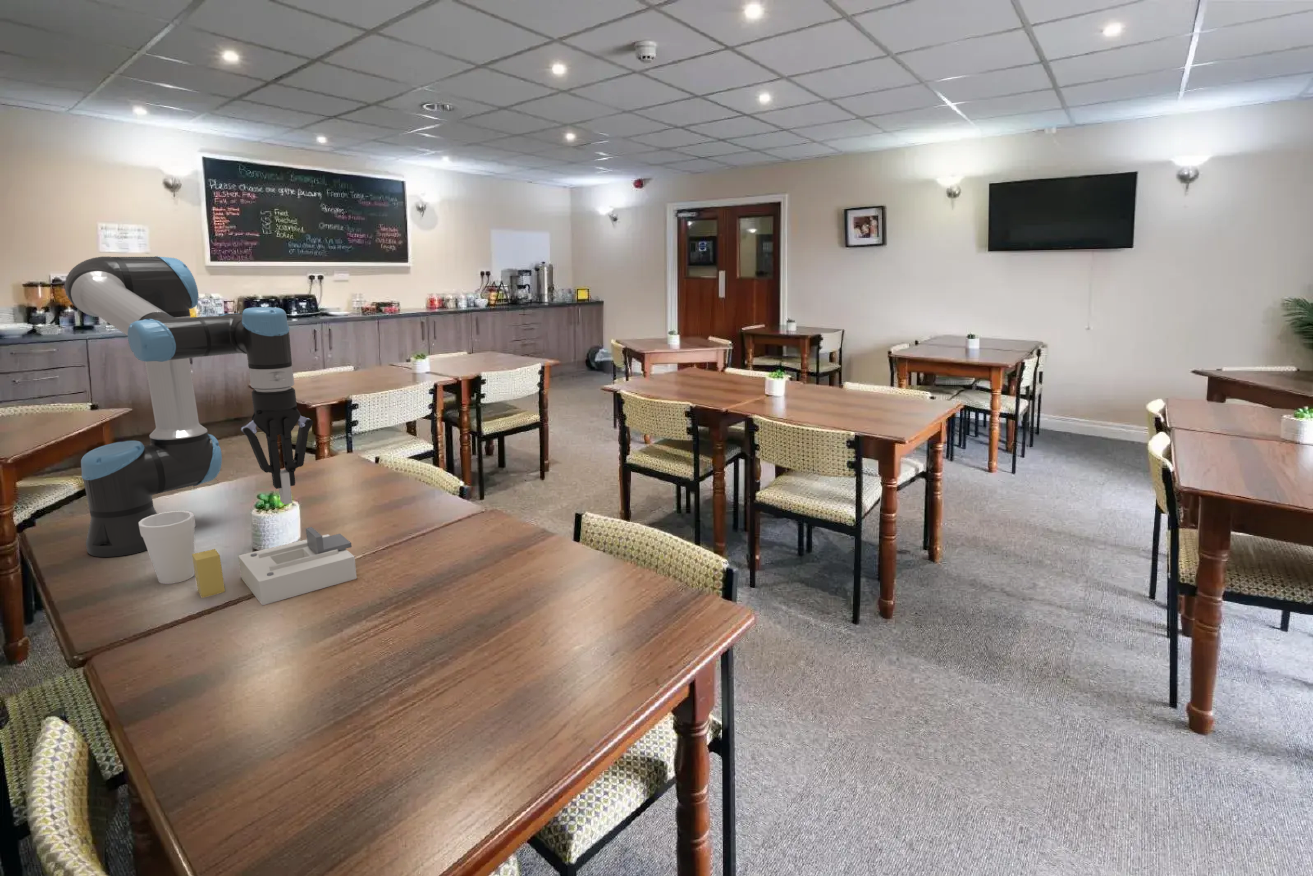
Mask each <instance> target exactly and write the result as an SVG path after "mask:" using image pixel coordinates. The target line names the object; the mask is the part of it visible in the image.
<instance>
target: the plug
mask: <svg viewBox="0 0 1313 876" xmlns="http://www.w3.org/2000/svg"><path fill="white" fill-rule="evenodd" d="M192 558H193V564H194V576H195V583H196V588H197V589H196V590H197V592H198V594H199V596H200V597H201V598H202V599H204V598H207V597H211V596H216V595H219V594H222V593H225V592H226V590H225V589H226V588H225V583H224V582H225V581H224V576H223V575H224V574H223V568H222V562H221V561H222V560H221V556H220V554H219V552H218V551H217V550H216V549H215V548H213V549H209V550H205V551H200V552H194V554H192Z"/></svg>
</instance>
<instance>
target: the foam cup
mask: <svg viewBox="0 0 1313 876" xmlns="http://www.w3.org/2000/svg"><path fill="white" fill-rule="evenodd" d="M138 523H139V529H140V534H141V537H143V539H144V542H145V544H146V547H147V550H146V551H147V553H148V555H149V559H150V561H151V564H152V567H153V570H154V572H155V574H156V579H157V581H158V583H160V584H162V585H171V584H177V583H181V582H184V581H187V580H189V579H191V578H192V577H194V576H195V571H194V564H193V558H192V554H195V527H197V526H196V520H195V515H194V512H192V511H187V510H173V511H172V510H171V511H163V512H160V513H157V514H155V515H151V516H149V517H146V518H144V519H142V520H141V521H140V522H138Z"/></svg>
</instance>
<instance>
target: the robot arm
mask: <svg viewBox="0 0 1313 876" xmlns="http://www.w3.org/2000/svg"><path fill="white" fill-rule="evenodd" d="M64 281H65V282H64V292H65V295H66V297H67V299H68V300H69V301H70V303H71V304H72V305H73V306H74V307H75V308H76V309H78V310H79V311H80V312H81V313H82V312H83V313H84V314H86V315H88V316H92V317H94V318H95V317H97V318H100V319H102V320H104V321H105V322H106V323H108V324H110V325H111V326H112V327H114V328H115V329H117V330H118V331H120V332H121V333H123V334H125V335H126V336H127V341H128V344H129V348H130V350H131V351H132V353H133V355H134V357H135V358H136V359H138V360H139V361H141V362H144V364H145V369H146V376H147V382H148V388H149V393H150V401H151V406H152V413H153V417H154V423H155V424H154V425H155V428H154V430H153V431H152V432H150V434H149V442H150V444H147V445H144V444H143V442H142V441H139V440H125V441H117V442H113V443H108V444H105V445H101V446H98V447H95V448H94V449H92V450H89V451H88V452H86V453H85V454H84V455H83V456H82V458H81V459H80V468H81V479H82V480H83V484H84V489H85V490H84V491H85V494H86V501H87V505H88V509H89V514H90V521H89V527H88V531H87V536H86V540H85V545H86V546H85V547H86V551H87V553H88V554H89V555H91V556H93V557H99V558H113V557H122V556H127V555H133V554H137V553H142V552H145V551H148V550H147V547H146V544H145V542H144V539H143V537H141V534H140V529H139V523H138V522H140V521H141V520H142V519H144V518H146V517H149V516H151V515H155V514H158V512H157V511H156V509H155V506H154V500H153V496H154V495H157V494H162V493H167V492H171V491H176V490H180V489H184V488H189V487H197V486H200V485H202V484H204V483H208V482H211V481H213V480H214V479H216V478H217V476H218V475H219V474H220V471H221V469H222V463H223V460H222V459H223V455H222V454H223V453H222V448H221V446H220V445H219V444H220V443H219V440H218V439H217V438H216V437H215V436H214V435H213V434H209V433H208V429H207V428H206V427H205V426H203V425H202V424H201V423H200V422H199V421H200V420H199V414H198V408H197V401H196V394H195V388H194V382H193V375H192V368H191V363H190V359H194V358H202V357H215V356H224V355H225V356H226V355H236V354H244V355H246V358H247V365H248V366H247V367H248V372H249V373H248V374H249V381H250V383H249V384H250V388H252V389H253V390H252V391H251V398H252V406H253V414H252V417H251V421H249V423H247V424H246V425H241V426H240V428H239V429H240V431H241V432H242V433H243V434H244V435H245V436H246V437H247V440H248V442H249V444H250V447H251V450H252V452H253V454H254V456H255V458H256V461H257V463H258V466H259V468H260V469H261V470H262V472H264V473H267V474H268V473H269V474H270V473H271V478H272V486H273V487H274V488H275V490H277V489H278V492H279V501H280V502H281V503H282V504H283V505H289V504H293V498H292V487H295V486H296V476H295V475H296V474H295V471H296V469H298V468H301V467H303V466H304V463H305V456H306V451H307V443H308V438H309V437H308V436H309V431H310V429H311V428H312V427H313V424H314V420H312V419H310V418H309V417H305V416H302V415H301V412H300V411H299V410H298V409H299V408H298V407H297V396H296V395H297V394H296V389H295V388H294V387H293V386H294V385H295V380H294V379H295V378H294V371H293V362H292V361H293V360H292V348H291V347H292V346H291V339H290V338H291V337H290V326H289V323H288V317H287V313H286V311H285V310H284V309H283V308H280V307H269V306H267V307H265V306H259V307H258V306H257V307H248V308H245V309H243V311H242V313H237V312H234V313H223V314H220V315H215V316H214V315H213V316H212V315H210V316H195V317H194V316H192V317H191V311H190V310H191V309H194V308H195V307H197V305H198V304H199V300H198V299H199V297H200V295H199V289H198V286H197V282H196V279H195V277H194V275H193V273H192V271H191V270H190V269H189V267H188V265H186V264H185V262H183V261H182V260H180V259H178V258H175V257H168V256H167V257H165V256H158V255H156V256H98V257H92V258H89V259H86V260H83V261H81V262H80V263H78V264H76V265H75V266H73V268H71V270H70V271H69V272H68V274H67V275H66V277H65V280H64ZM296 425H298V430H297V436H296V443H295V448H294V453H293V442H292V437H293V435H292V431H293V430H294V428H295V426H296ZM256 428H258V429H259V430H261V432H263V433H264V434H265V438H266V441H267V450H268V460H269V461H268V460H267V458H266V455H265V453H264V450H263V448H262V445H261V443H260V441H259V439H258V437H257V435H256V434H257V432H258V429H256ZM278 435H280V439H281V440H280V441H281V449H282V458H283V459H282V460H283V467H284V468H285V469H281V463H280V455H279V454H280V453H279V443H278V439H279V438H278Z"/></svg>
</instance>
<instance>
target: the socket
mask: <svg viewBox="0 0 1313 876" xmlns="http://www.w3.org/2000/svg"><path fill="white" fill-rule="evenodd" d="M328 536H331V535H330V534H328V533H327V534H323V535H322V538H323V537H328ZM237 559H238V566H239V573H240V578H241V579H242V580H243V583H244V584H245V585H246V586H247V587H248V589H249V590H250V592H251V593H252V594H253V596H255V598H256V599H257V600H258V602H259V603H260V605H261V606H265V605H269V604H273V603H276V602H279V601H282V600H287V599H289V598H293V597H297V596H300V595H304V594H307V593H311V592H314V591H317V590H321V589H325V588H328V587H332V586H336V585H339V584H342V583H347V582H350V581H353V580H357V569H356V568H357V567H356V557H355V556H354V555H353V554H352V553H351V552H350V551H349V550H348V549H347V548H346V549H342V550H339V551H338V550H337V549H336V550H332V551H328V552H324V553H320V554H316V553H315V552H314V551H313V550H312V549H311V548H310V547H309V546H308V544H307V538H305V539H303V540H298V541H294V542H290V543H286V544H281V545H277V546H272V547H269V548H264V549H259V550H256V551H251V552H247V553H243V554H240V555H237Z"/></svg>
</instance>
